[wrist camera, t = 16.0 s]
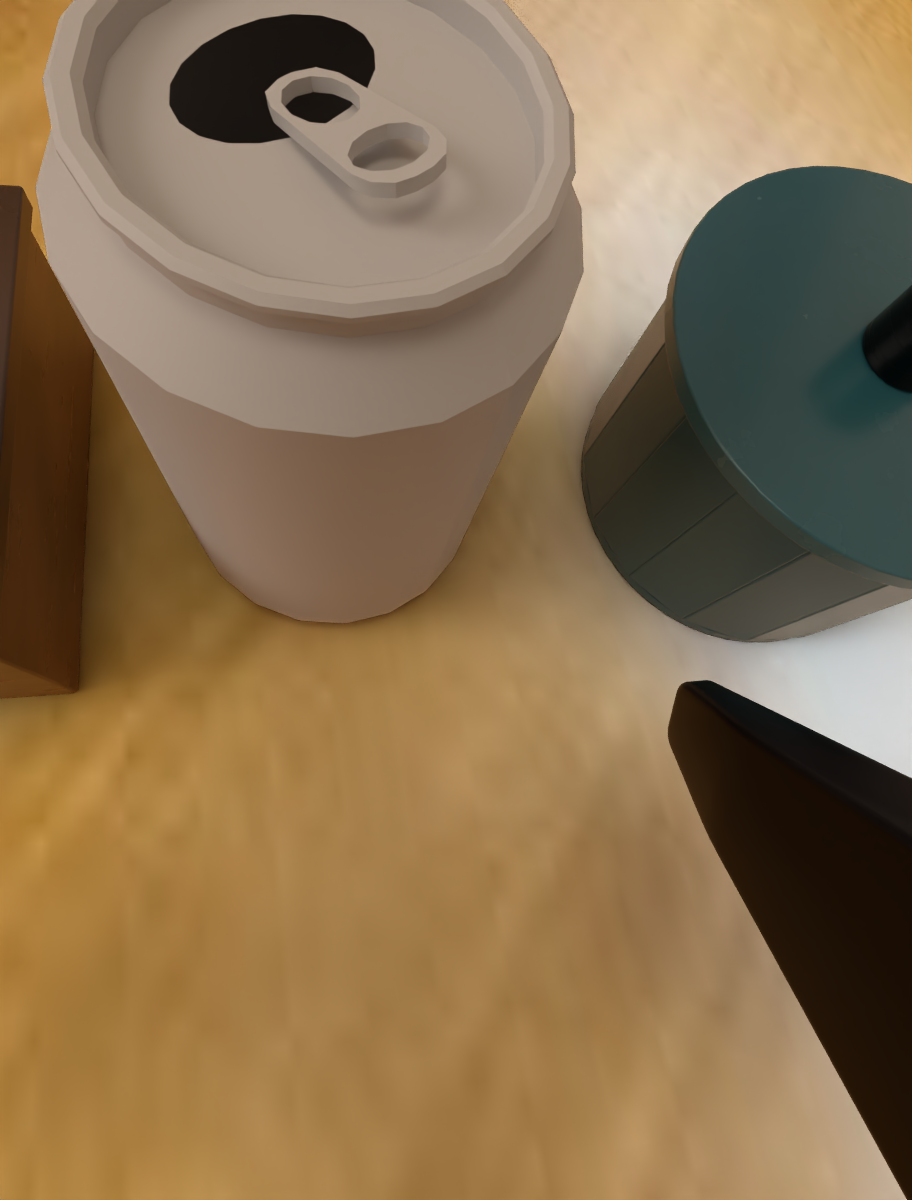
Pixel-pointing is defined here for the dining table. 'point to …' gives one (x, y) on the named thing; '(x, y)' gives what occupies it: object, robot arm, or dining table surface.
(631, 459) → the pot
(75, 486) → the walnut box
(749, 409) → the pot lid
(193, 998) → the dining table surface
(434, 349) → the can
